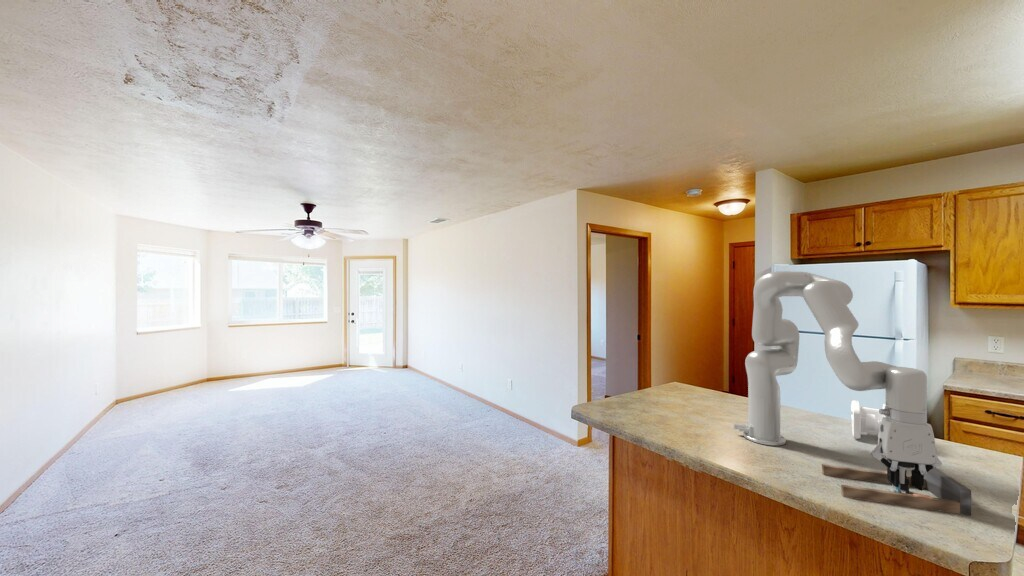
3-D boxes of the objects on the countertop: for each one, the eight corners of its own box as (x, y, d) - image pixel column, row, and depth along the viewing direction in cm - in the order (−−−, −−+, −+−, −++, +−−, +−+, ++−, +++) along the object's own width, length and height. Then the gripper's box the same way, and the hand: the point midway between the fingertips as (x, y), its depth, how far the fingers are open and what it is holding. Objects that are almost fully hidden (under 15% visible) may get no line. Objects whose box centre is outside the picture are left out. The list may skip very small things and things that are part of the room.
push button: (918, 502, 97) (919, 462, 97) (888, 494, 100) (889, 456, 100) (913, 491, 102) (914, 453, 102) (885, 484, 105) (886, 448, 105)
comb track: (843, 496, 100) (843, 473, 100) (821, 472, 112) (821, 452, 112) (971, 515, 91) (971, 490, 91) (932, 487, 104) (932, 465, 104)
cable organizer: (893, 448, 129) (893, 414, 129) (851, 440, 136) (851, 407, 136) (889, 435, 140) (889, 403, 140) (850, 428, 147) (850, 398, 147)
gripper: (872, 416, 100) (872, 487, 100) (959, 424, 94) (958, 499, 94) (858, 407, 107) (857, 474, 107) (938, 415, 101) (937, 484, 101)
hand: (905, 485), depth 101 cm, fingers open, 4 cm apart
